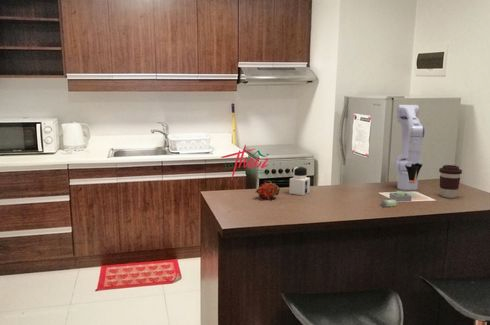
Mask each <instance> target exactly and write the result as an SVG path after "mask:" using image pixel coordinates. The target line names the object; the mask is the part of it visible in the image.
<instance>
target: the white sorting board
mask: <svg viewBox="0 0 490 325" xmlns="http://www.w3.org/2000/svg"><path fill="white" fill-rule="evenodd" d="M404 192H405V196H398V195H396V191H387V192H379V194H380V195H382V196H384V197H386V198H388V200H396V202H397V203H407V202H430V201H432V202H434V201H437V200H436V199H435V198H433V197H429V196H427V195H425V194H422V193H420V192H418V191H416V190H415V191H414V190H413V191H412V190H409V191H404Z"/></svg>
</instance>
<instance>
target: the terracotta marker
mask: <svg viewBox="0 0 490 325" xmlns="http://www.w3.org/2000/svg"><path fill="white" fill-rule="evenodd" d="M416 177H417V171H416V174H415V179H414V181H412V180H409V183H416Z"/></svg>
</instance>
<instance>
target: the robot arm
mask: <svg viewBox="0 0 490 325" xmlns="http://www.w3.org/2000/svg"><path fill="white" fill-rule="evenodd" d="M419 112H420V107H419V105H418V104H400V103H399V104H398V105H397V109H396V119H397V122H399V123H400V127H401V153H400V154H399V155H398V156H397V157H396V158H395V165H394V166H395V167H394V168H395V169H394V170H395V172H397V183H396V184H397V190H398V189H399V190H400V191H412V190H413V191H414V190H418V189H419V188H418V187H419V186H418V185H419V173H420V171H421V169H422V167H423V164H422V151H423V150H422V149H423V147H422V146H423V138H424V136H425V132H426V131H425V128H426V127H425V126H424V125H422V124H421V121H420V118H418V116H419ZM416 171H417V177H416V183H409V180H412V181H414V179H415V174H416Z"/></svg>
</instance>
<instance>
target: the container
mask: <svg viewBox="0 0 490 325" xmlns="http://www.w3.org/2000/svg"><path fill="white" fill-rule="evenodd" d="M292 171H293V175H292V176H293V177H291V178H289V190H288V192H289V194H290V195H295V196H296V195H297V196H306V195H307V194H309V193H310V191H311V190H310V189H311V178H310V177H307V176H308V175H307V174H308V173H307V172H308V171H307V167H304V166H295V167H294V168H293V170H292Z"/></svg>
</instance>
